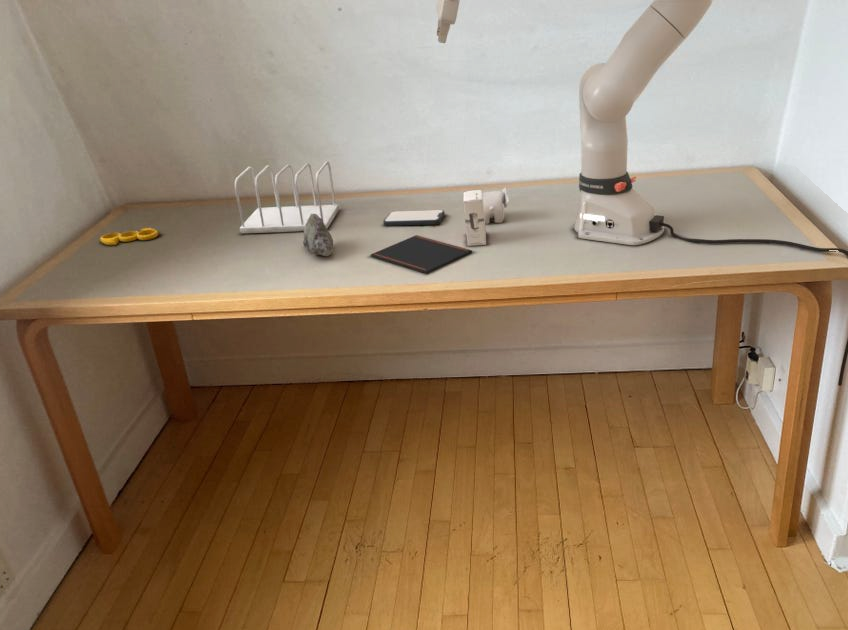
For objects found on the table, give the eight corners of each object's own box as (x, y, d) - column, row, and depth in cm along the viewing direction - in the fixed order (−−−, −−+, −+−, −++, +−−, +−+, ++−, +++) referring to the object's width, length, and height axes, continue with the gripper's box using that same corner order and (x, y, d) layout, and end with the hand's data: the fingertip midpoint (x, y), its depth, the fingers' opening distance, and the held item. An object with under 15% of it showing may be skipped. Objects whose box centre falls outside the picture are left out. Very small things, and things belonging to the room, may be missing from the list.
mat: (472, 252, 191) (472, 250, 191) (426, 274, 182) (426, 271, 181) (416, 237, 204) (416, 234, 204) (370, 256, 195) (370, 254, 194)
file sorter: (240, 234, 218) (228, 180, 211) (258, 214, 233) (248, 163, 226) (326, 230, 215) (317, 175, 207) (339, 210, 230) (331, 158, 222)
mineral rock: (328, 262, 194) (322, 224, 189) (289, 262, 196) (282, 224, 191) (345, 244, 204) (340, 207, 199) (308, 243, 207) (301, 207, 202)
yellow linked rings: (152, 242, 219) (163, 230, 228) (151, 237, 218) (162, 225, 227) (95, 247, 220) (108, 235, 228) (94, 242, 219) (106, 230, 228)
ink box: (466, 234, 203) (463, 190, 197) (485, 233, 202) (483, 189, 196) (466, 246, 195) (463, 201, 189) (486, 245, 195) (484, 199, 189)
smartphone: (383, 227, 214) (439, 225, 210) (382, 221, 213) (438, 220, 209) (391, 216, 222) (445, 214, 218) (390, 211, 221) (445, 209, 217)
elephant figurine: (507, 210, 216) (506, 179, 212) (510, 225, 206) (509, 192, 201) (473, 213, 217) (471, 182, 212) (474, 228, 206) (472, 195, 202)
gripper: (470, -19, 164) (456, 49, 171) (464, -27, 182) (451, 35, 188) (441, -26, 163) (428, 43, 170) (438, -33, 181) (426, 30, 188)
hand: (440, 39), depth 179 cm, fingers open, 8 cm apart
